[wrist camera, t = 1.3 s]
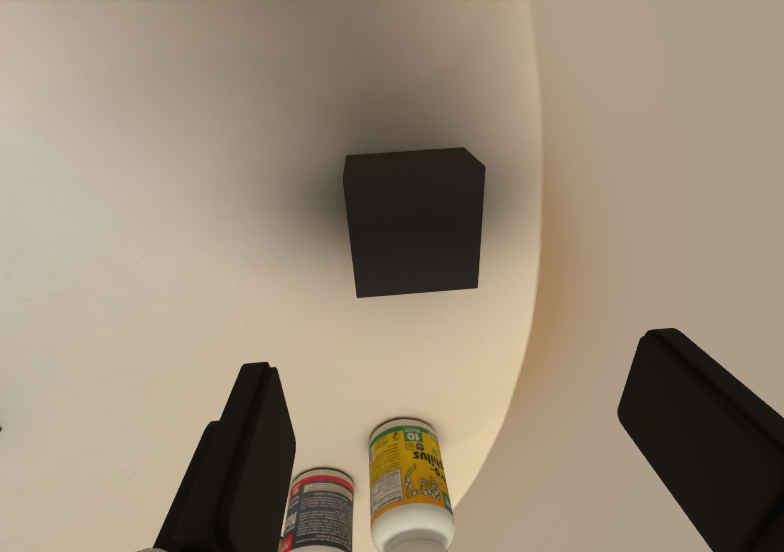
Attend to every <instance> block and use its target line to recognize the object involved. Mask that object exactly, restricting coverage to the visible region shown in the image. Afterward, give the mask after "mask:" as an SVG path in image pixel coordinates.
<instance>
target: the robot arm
mask: <svg viewBox="0 0 784 552" xmlns="http://www.w3.org/2000/svg"><path fill="white" fill-rule="evenodd" d="M618 418H619V421H620V422H621V424H622V426H623V427H624V429H625V430H626V431H627V433H628V434H629V436H630V437H631V438H632V439H633V441H634V443H635V444H636V445H637V447H638V448H639V449H640V451H641V452H642V454H643V455H644V456H645V458H646V459H647V461H648V462H649V463H650V465H651V466H652V468H653V469H654V470H655V472H656V473H657V475H658V476H659V477H660V479H661V480H662V482H663V483H664V484H665V486H666V487H667V488H668V490H669V491H670V493H671V494H672V495H673V497H674V498H675V500H676V501H677V502H678V504H679V505H680V506H681V508H682V509H683V511H684V512H685V514H686V515H687V516H688V518H689V519H690V521H691V522H692V523H693V525H694V526H695V527H696V529H697V530H698V532H699V533H700V534H701V536H702V537H703V538H704V540H705V541H706V543H707V544H708V546H709V547H710V548H711V550H712V551H713V552H784V418H783V417H782V416H781V415H779V414H778V413H777V412H776V411H775V410H773V409H772V408H771V407H770V406H769V405H767V404H766V403H765V402H764V401H763V400H761V399H760V398H759V397H758V396H757V395H756V394H754V393H753V392H752V391H751V390H750V389H748V388H747V387H746V386H745V385H744V384H742V383H741V382H740V381H739V380H738V379H736V378H735V377H734V376H733V375H732V374H730V373H729V372H728V371H727V370H726V369H724V368H723V367H722V366H721V365H720V364H719V363H717V362H716V361H715V360H714V359H713V358H711V357H710V356H709V355H708V354H707V353H705V352H704V351H703V350H702V349H701V348H699V347H698V346H697V345H696V344H695V343H694V342H692V341H691V340H690V339H689V338H687V337H686V336H685V335H684V334H683V333H681V332H680V331H679V330H677V329H675V328H666V329H655V330H649V331H647V332H646V334H645V336H643V337H641V339H640V340H639V343H638V346H637V350H636V353H635V356H634V359H633V362H632V365H631V369H630V372H629V375H628V378H627V381H626V384H625V388H624V391H623V394H622V397H621V400H620V403H619V406H618ZM295 452H296V441H295V436H294V432H293V428H292V424H291V420H290V416H289V412H288V409H287V405H286V401H285V397H284V393H283V389H282V385H281V382H280V378H279V374H278V370H277V368H276V367H270V365H269V363H268V362H260V363H248V364H244V365H243V366H242V367H241V369H240V372H239V374H238V377H237V379H236V382H235V384H234V386H233V389H232V391H231V394H230V396H229V399H228V401H227V403H226V406H225V408H224V411H223V413H222V416H221V418H220V420H219V421H211V422H210V423H209V424H208V425H207V427H206V429H205V430H204V433H203V435H202V437H201V439H200V442H199V444H198V446H197V448H196V451H195V453H194V455H193V458H192V460H191V462H190V464H189V467H188V469H187V471H186V473H185V476H184V478H183V480H182V482H181V485H180V487H179V489H178V492H177V494H176V496H175V498H174V501H173V503H172V505H171V507H170V510H169V512H168V514H167V517H166V519H165V521H164V523H163V526H162V528H161V530H160V532H159V535H158V537H157V539H156V541H155V544H154V546H153V548H147V549H144V550H141V551H137V552H278V547H279V541H280V536H281V530H282V525H283V519H284V514H285V508H286V502H287V497H288V491H289V486H290V480H291V475H292V469H293V463H294V458H295Z"/></svg>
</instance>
